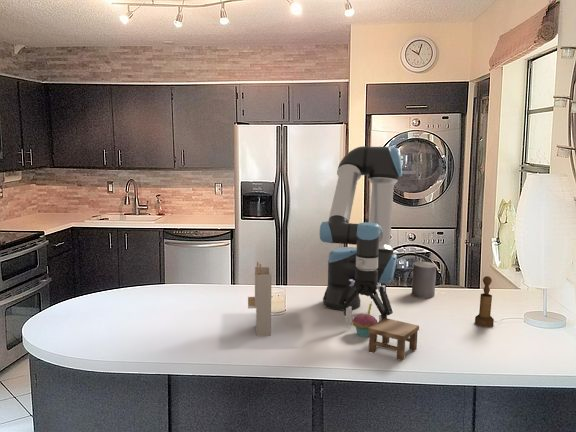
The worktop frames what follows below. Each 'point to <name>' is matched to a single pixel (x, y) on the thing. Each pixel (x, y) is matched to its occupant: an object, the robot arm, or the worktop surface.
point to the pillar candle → (424, 279)
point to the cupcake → (364, 323)
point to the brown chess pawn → (485, 306)
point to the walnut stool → (393, 336)
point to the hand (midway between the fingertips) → (364, 329)
